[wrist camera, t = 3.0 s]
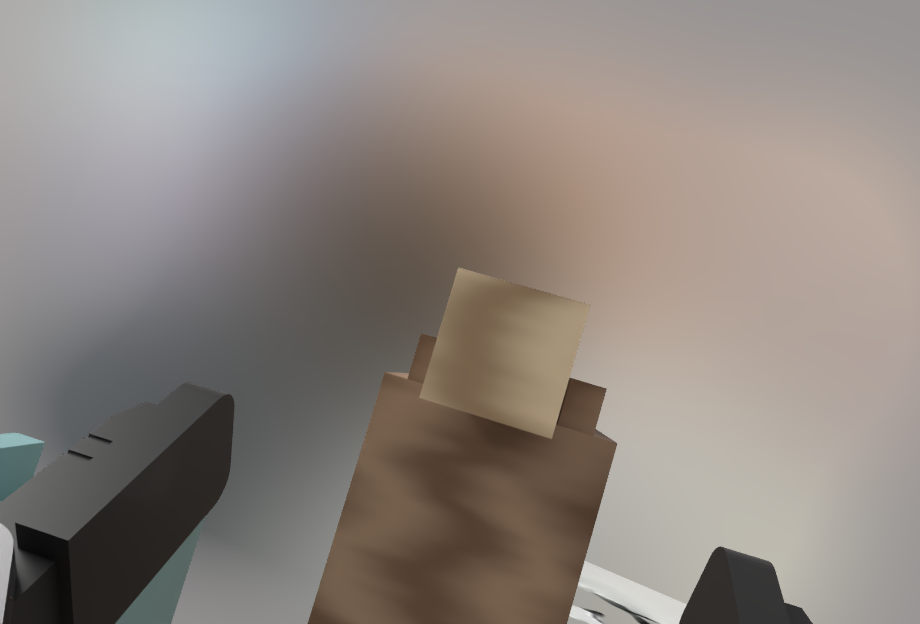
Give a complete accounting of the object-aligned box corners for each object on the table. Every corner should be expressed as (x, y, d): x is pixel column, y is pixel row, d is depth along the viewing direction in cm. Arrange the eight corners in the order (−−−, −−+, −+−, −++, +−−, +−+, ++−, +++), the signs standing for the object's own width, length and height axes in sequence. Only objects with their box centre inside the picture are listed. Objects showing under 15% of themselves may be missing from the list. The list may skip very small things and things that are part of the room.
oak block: (418, 397, 20) (458, 267, 20) (484, 389, 44) (502, 331, 45) (551, 438, 19) (590, 304, 20) (543, 407, 44) (560, 348, 44)
